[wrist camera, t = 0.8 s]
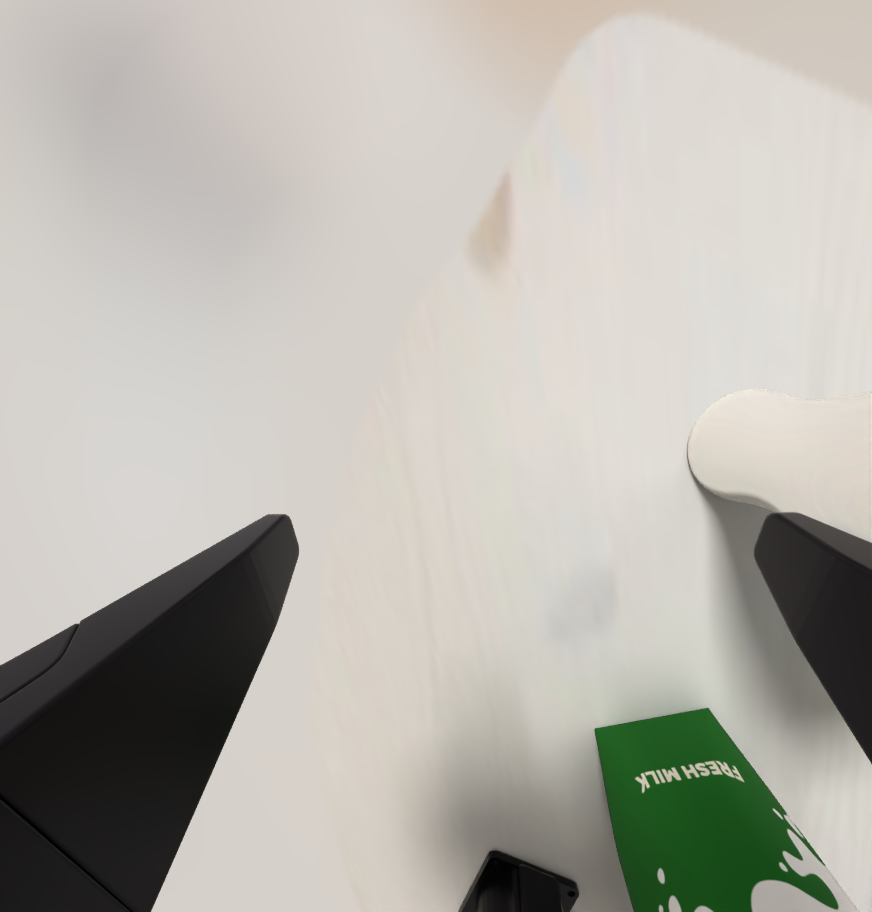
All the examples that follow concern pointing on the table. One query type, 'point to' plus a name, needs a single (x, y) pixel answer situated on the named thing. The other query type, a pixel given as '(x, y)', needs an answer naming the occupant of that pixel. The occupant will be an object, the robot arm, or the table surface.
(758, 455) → the beer glass
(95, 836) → the robot arm
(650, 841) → the milk carton
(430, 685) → the table surface
